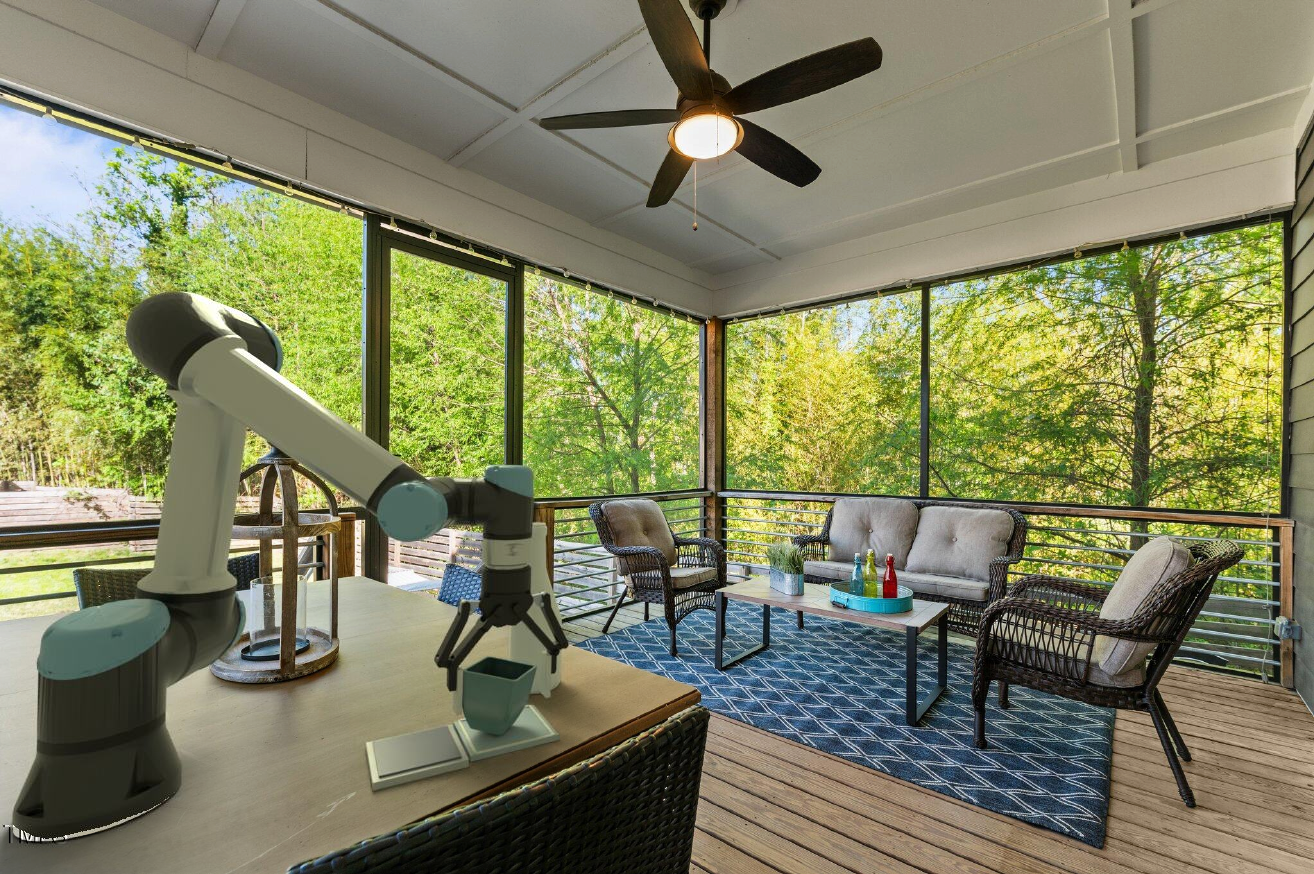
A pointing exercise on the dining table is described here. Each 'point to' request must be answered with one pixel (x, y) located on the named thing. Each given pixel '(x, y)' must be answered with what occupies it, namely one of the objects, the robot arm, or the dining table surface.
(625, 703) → the dining table surface
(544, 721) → the board
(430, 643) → the dining table surface
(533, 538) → the wine bottle
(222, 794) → the dining table surface
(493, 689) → the flower pot
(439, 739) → the ink pad
